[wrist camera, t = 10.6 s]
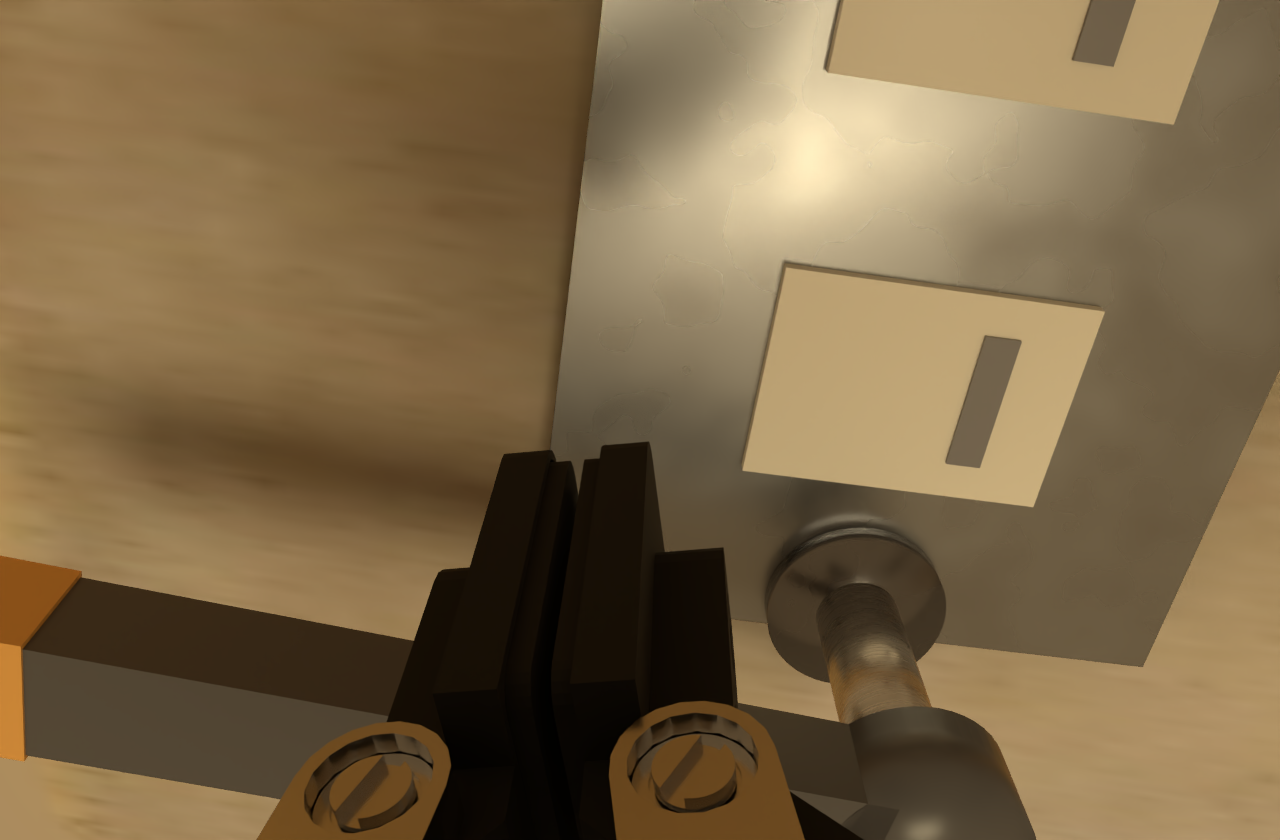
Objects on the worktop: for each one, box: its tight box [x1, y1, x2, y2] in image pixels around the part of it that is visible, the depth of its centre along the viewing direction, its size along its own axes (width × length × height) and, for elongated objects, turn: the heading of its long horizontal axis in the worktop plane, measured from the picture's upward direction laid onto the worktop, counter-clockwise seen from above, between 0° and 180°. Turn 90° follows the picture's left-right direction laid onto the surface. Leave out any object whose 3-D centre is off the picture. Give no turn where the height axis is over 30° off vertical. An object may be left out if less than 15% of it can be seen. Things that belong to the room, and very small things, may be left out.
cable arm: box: [0, 556, 1036, 840], centre depth 20 cm, size 20×4×2 cm, turn 76°
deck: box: [550, 0, 1280, 724], centre depth 21 cm, size 21×16×7 cm
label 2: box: [741, 263, 1105, 507], centre depth 24 cm, size 5×7×1 cm
